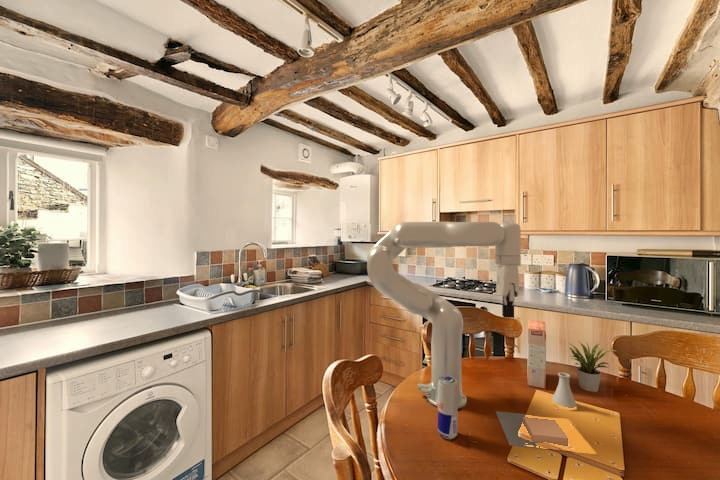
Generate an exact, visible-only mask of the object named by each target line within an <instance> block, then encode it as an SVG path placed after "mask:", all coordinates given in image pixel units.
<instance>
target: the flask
mask: <svg viewBox="0 0 720 480" xmlns="http://www.w3.org/2000/svg"><path fill="white" fill-rule="evenodd" d="M558 377H559V378H558V379H559V380H558V385H557V386H556V390H555V391H554V393H553V395H552V399H553V402H555V403H556V404H558V405H561V406H564V407H568V408H574V407H577V408H578V406H577V402H576V399H575V397H574V394H573V392H572V389H571V385H570V378H571V374H570V373H569V374H568V373H567V372H558ZM552 399H551V400H552Z"/></svg>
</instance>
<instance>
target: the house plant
mask: <svg viewBox="0 0 720 480" xmlns="http://www.w3.org/2000/svg"><path fill="white" fill-rule="evenodd" d="M577 342H578V343H579V344H580V345H581V348H582V350H583V353H584V355H583V354H582V353H581V351H580V350H579V349H578V348H577V347H576V346H575V345H573V344H572V343H569V342H568V344H569V345H571V346H572V347H573V348H572V347H569V346H568V347H569V350H570V351H571V353H572V355H570V356H569V357H570V358H571V359H572V360H574V361H577V362H578V363H577V362H576V363H574V365H577V366H578V367H576V372H577V378H578V384H579V387H580V388H581V389H582V390H585V391H586V392H594V393H595V392H599V387H600V381H601V376H602V371H601V370H599V369H597V368H608V369H609V367H608V366H606V365H609V366H610V364H609V363H608V362H604V361H603V362H600V363H598V364H597V362H598V361H599V359H601V358H603V356H606V355H607V354H608V353H611V352H617V350H614V349H612V350H611V349H609V350H605V351H603V350H604V348H603V347H602V348H600V347H599V345H601V342H600V343H599V342H598V343H596V344H595V345H594V346H593V348H592V349H590V346H589V344H588V343H586V345H585V344H583V343H582V342H581V341H578V340H577ZM598 347H599V348H598ZM597 350H598V351H597ZM584 356H585V357H584ZM596 364H597V365H596Z"/></svg>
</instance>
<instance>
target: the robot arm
mask: <svg viewBox="0 0 720 480" xmlns="http://www.w3.org/2000/svg"><path fill="white" fill-rule="evenodd" d="M521 236H522V235H521V226H520V224H519V223H515V222H514V223H513V222H511V223H509V222H507V223H505V222H504V223H498V222H497V221H496V222H495V221H403V222H400V223H397V224H395V226H393V227H392V228H391V229H390V230H389V232H387V233H386V234H385V235H384V236H383V237H382V238H381V239H380V240H379V241H378V242H377V243H375V244H374V245H373V246H372V247H371V248H370V249H369V250H368V252H367V255H366V259H367V260H366V261H367V262H366V271H367V275H368V279H369V281H370V283H371V284H372V286H373V287H374V288H375V289H376V290H377V291H378V292H379V293H381V294H382V295H384V296H385V297H387V298H388V299H390V300H392V302H395V304H398V305H399V306H401V307H403V308H405V309H404V310H407V311H408V312H410V313H412V314H413V315H416V316H417V315H418V316H420V317H422V318H424V319H426V320H427V321H429V322H430V323H431V324H432V325H431V326H432V329H431V330H432V331H431V341H430V342H431V344H430V345H431V347H430V352H431V353H430V354H431V356H430V357H431V367H430V369H431V371H430V372H431V380H430V383H427V384H424V383H417V391H421V394H426V399H427V401H428V402H429V403H430V404H432V406H435V407H437V408H438V378H439V377H440V376H450V377H453V378H455V379H456V380H457V410H460V409H462V408H464V407H465V406H466V405H467V403H468V402H467V400H468V399H467V396H466V395H465V394H464V393H463V392H462V387H463V386H462V380H463V379H462V341H463V340H462V336H463V330H464V318H463V314H462V313H461V311H460V310H459V308H458V307H457V306H455V305H454V304H453V303H451V302H449V301H448V300H447V299H445V298H443V297H441V296H440V295H438V294H436V292H433V291H431V290H430V289H428V288H427V287H425V286H424V285H422V284H420V283H417V282H413V281H411V280H409V279H408V278H407V277H405V276H403V275H402V274H400V273H398V272H397V271H396V270H395V267H394V264H393V263H394V260H395V259H396V258H397V257H398V256H399V255H400V254H402V252H403V251H405V250H406V249H411V248H415V249H416V248H417V249H419V248H424V249H425V248H440V249H441V248H456V247H495V249H494V250H495V252H494V253H495V257H494V258H495V266H497V269H496V282H495V283H496V285H495V286H496V287H495V288H496V289H495V292H496V293H497V294H498V295H499V296H501V297H502V298H501V300H502V301H501V302H502V305H501V306H502V308H501V310H502V313H501V314H502V315H501V316H502V317H503V318H512V319H513V318H515V300H516V299H515V298H517V297H519V294H520V281H519V280H520V279H519V278H520V277H519V267H521V266H522V261H521V260H522V253H521V252H522V251H521V250H522V249H521V247H522V246H521V245H522V244H521V241H522V240H521V239H522V237H521Z"/></svg>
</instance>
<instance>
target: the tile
mask: <svg viewBox="0 0 720 480" xmlns="http://www.w3.org/2000/svg"><path fill="white" fill-rule="evenodd" d="M523 424H524V426H525V427H526V429H527V431H528V433H529V435H530V436H531V439H532V441H533V443H543V442H547V443H553V444H558V445H563V446H568V438H567V436H566V435H565V433H564V432H563V431H562V429H561V428H560V427H559V425H558V424H557V423H556V421H555V420H548V419H538V418H528V417H523Z"/></svg>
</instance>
